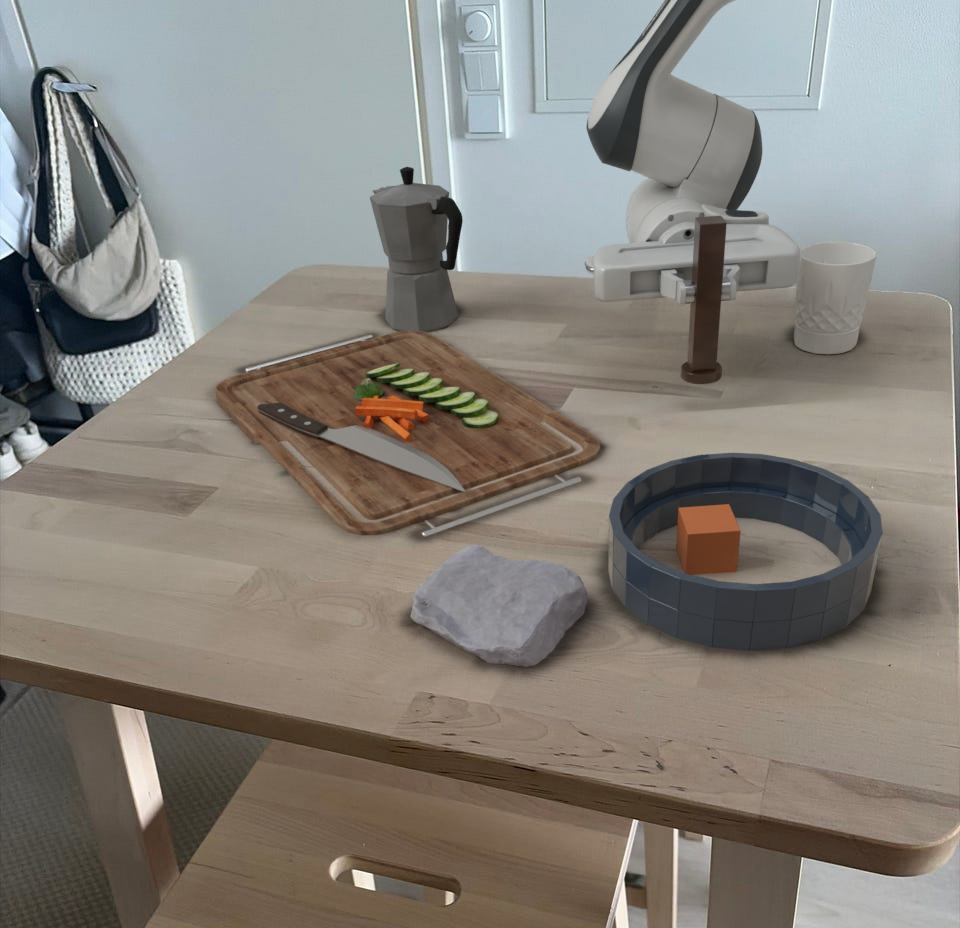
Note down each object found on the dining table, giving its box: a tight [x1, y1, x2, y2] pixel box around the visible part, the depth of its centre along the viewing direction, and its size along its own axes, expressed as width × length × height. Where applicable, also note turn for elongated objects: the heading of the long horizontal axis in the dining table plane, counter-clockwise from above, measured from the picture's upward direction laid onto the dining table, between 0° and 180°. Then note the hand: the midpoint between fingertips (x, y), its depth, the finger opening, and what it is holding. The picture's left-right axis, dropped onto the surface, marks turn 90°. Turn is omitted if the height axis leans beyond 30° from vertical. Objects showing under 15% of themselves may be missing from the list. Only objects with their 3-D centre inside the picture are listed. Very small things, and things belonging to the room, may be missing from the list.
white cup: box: [793, 241, 878, 355], centre depth 112 cm, size 8×8×10 cm
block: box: [675, 504, 742, 576], centre depth 80 cm, size 4×4×4 cm
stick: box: [680, 216, 727, 385], centre depth 98 cm, size 4×4×15 cm
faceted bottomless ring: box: [607, 452, 884, 652], centre depth 78 cm, size 20×20×6 cm
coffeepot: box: [369, 166, 464, 333], centre depth 124 cm, size 15×9×18 cm, turn 43°
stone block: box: [410, 544, 589, 668], centre depth 77 cm, size 12×5×10 cm
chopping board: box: [214, 330, 601, 538], centre depth 105 cm, size 45×27×3 cm, turn 30°
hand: (708, 294), depth 97 cm, fingers closed on stick, 2 cm apart
